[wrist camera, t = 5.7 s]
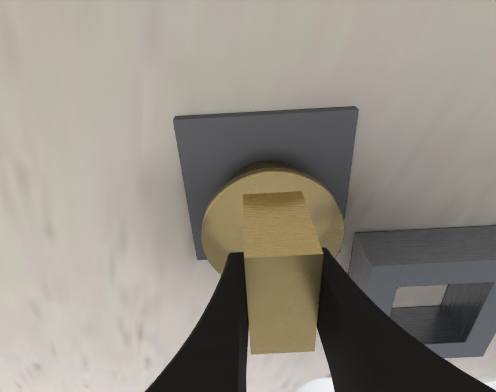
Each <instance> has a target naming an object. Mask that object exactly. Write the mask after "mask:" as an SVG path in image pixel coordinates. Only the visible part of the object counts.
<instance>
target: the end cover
mask: <svg viewBox="0 0 496 392" xmlns="http://www.w3.org/2000/svg"><path fill="white" fill-rule="evenodd" d="M343 238H344V220H343V217H342V214H341V211H340V209H339V207H338V205H337V203H336V201H335V199H334V197H333V196H332V194H331V193H330V191H329V190H328V189H327V188H326V187H325V186H324V185H323V184H322V183H321V182H319V181H318V180H317V179H315V178H313V177H312V176H310V175H308V174H305V173H303V172H300V171H298V170H297V169H296V168H294V167H293V166H291V165H289V164H287V163H284V162H280V161H275V160H263V161H257V162H254V163H251V164H248V165H246V166H244V167H243V168H241V169H240V170H239V171H237V172H236V173H235V174H234V175H233V177H232V178H231V179H230V181H229V182H228V183H226V184H225V185H224V186H223V187H221V188H220V189H219V190H218V191H217V193H216V194H215V195H214V196H213V198H212V199H211V201H210V202H209V204H208V206H207V209H206V211H205V215H204V219H203V225H202V233H201V239H202V246H203V250H204V253H205V255H206V257H207V259H208V261H209V262H210V264H211V265H212V266H213V267H214V269H215V270H216V271H218V272H219V273H220V274H221V275H222V273H223V270H224V267H225V264H226V261H227V257H228V254H229V253H231V252H244V264H245V278H246V291H247V305H248V319H249V332H250V346H251V354H270V353H289V352H308V351H314V350H315V339H316V328H317V318H318V307H319V296H320V286H321V275H322V264H323V251H322V248H323V247H326V248H327V249H328V250H329V252H330V253H331V254H332V256H333V257H334V258H335V257H336V256H337V254H338V252H339V251H340V248H341V245H342V243H343Z"/></svg>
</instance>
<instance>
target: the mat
mask: <svg viewBox="0 0 496 392" xmlns="http://www.w3.org/2000/svg"><path fill="white" fill-rule="evenodd" d="M357 118H358V109H357V108H356V107H355V106H352V107H334V108H316V109H298V110H281V111H263V112H245V113H227V114H209V115H191V116H175V117H174V119H173V123H174V129H175V134H176V140H177V146H178V152H179V157H180V163H181V169H182V175H183V180H184V186H185V192H186V198H187V203H188V209H189V215H190V221H191V226H192V232H193V238H194V244H195V249H196V255H197V260H206V259H207V257H206V255H205V253H204V250H203V246H202V239H201V233H202V225H203V219H204V215H205V211H206V209H207V206H208V204H209V202H210V201H211V199H212V198H213V196H214V195H215V194H216V193H217V191H218V190H219V189H220V188H221V187H223V186H224V185H225V184H226V183H228V182H229V181H230V179H231V178H232V177H233V175H234V174H235V173H236V172H237V171H239V170H240V169H241V168H243V167H244V166H246V165H248V164H251V163H254V162H257V161H263V160H275V161H280V162H284V163H287V164H289V165H291V166H293V167H294V168H296V169H297V170H298V171H300V172H303V173H305V174H308V175H310V176H312V177H313V178H315V179H317V180H318V181H319V182H321V183H322V184H323V185H324V186H325V187H326V188H327V189H328V190H329V191H330V193H331V194H332V196H333V197H334V199H335V201H336V203H337V205H338V207H339V209H340V211H341V214H342V217H343V220H344V218H345V210H346V203H347V195H348V187H349V180H350V172H351V164H352V156H353V149H354V141H355V133H356V126H357ZM340 249H341V248H340ZM339 252H340V251H339Z"/></svg>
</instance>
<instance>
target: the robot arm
mask: <svg viewBox="0 0 496 392" xmlns="http://www.w3.org/2000/svg"><path fill="white" fill-rule="evenodd" d="M322 251H323V264H322V275H321V286H320V296H319V307H318V318H317V329H318V332H319V335H320V338H321V342H322V345H323V348H324V352H325V355H326V358H327V361H328V365H329V368H330V372H331V376H332V381H333V385H334V390H335V392H496V391H495V390H494V389H492V388H490V387H489V386H487V385H485V384H484V383H482V382H480V381H479V380H477V379H475V378H474V377H472V376H470V375H468V374H467V373H465V372H463V371H462V370H460V369H459V368H457V367H456V366H454V365H453V364H451V363H450V362H448V361H447V360H445V359H443V358H442V357H440V356H439V355H438V354H436V353H435V352H433V351H432V350H431V349H429V348H428V347H427V346H425V345H424V344H422V343H421V342H420V341H418V340H417V339H416V338H414V337H413V336H412V335H410V334H409V333H408V332H407V331H405V330H404V329H403V328H402V327H401V326H399V325H398V324H397V323H396V322H395V321H393V320H392V319H391V318H390V317H389V316H388V315H387V314H386V313H384V312H383V311H382V310H381V309H380V308H379V307H378V306H377V305H376V304H375V303H374V302H373V301H372V300H371V299H370V298H369V297H368V296H367V295H366V294H365V293H364V292H363V291H362V290H361V289H360V288H359V286H358V285H357V284H356V283H355V282H354V281H353V280H352V279H351V278H350V276H349V275H348V274H347V273H346V272H345V271H344V269H343V268H342V267H341V266H340V265H339V263H338V262H337V261H336V260H335V258H334V257H333V256H332V254H331V253H330V252H329V250H328V249H327V248H326V247H323V248H322ZM248 330H249V319H248V305H247V291H246V278H245V264H244V252H231V253H229V254H228V257H227V261H226V264H225V267H224V270H223V273H222V275H221V278H220V280H219V283H218V285H217V287H216V289H215V292H214V294H213V296H212V298H211V300H210V302H209V303H208V305H207V307H206V309H205V311H204V313H203V315H202V316H201V318H200V320H199V321H198V323H197V325H196V326H195V328H194V329H193V331H192V333H191V334H190V336H189V337H188V338H187V340H186V341H185V343H184V344H183V346H182V347H181V348H180V350H179V351H178V353H177V354H176V355H175V357H174V358H173V359H172V360H171V362H170V363H169V364H168V365H167V366H166V368H165V369H164V370H163V371H162V372H161V374H160V375H159V376H158V377H157V379H156V380H155V381H154V382H153V383H152V384H151V385H150V387H149V388H148V389H147V390H146V391H145V392H246V364H247V347H248Z"/></svg>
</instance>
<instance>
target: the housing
mask: <svg viewBox="0 0 496 392" xmlns="http://www.w3.org/2000/svg"><path fill="white" fill-rule="evenodd" d="M349 276H350V278H351V279H352V280H353V281H354V282H355V283H356V284H357V285H358V286H359V288H360V289H361V290H362V291H363V292H364V293H365V294H366V295H367V296H368V297H369V298H370V299H371V300H372V301H373V302H374V303H375V304H376V305H377V306H378V307H379V308H380V309H381V310H382V311H383V312H384V313H386V314H387V315H388V316H389V317H390V318H391V319H392V320H393V321H395V322H396V323H397V324H398V325H399V326H401V327H402V328H403V329H404V330H405V331H407V332H408V333H409V334H410V335H412V336H413V337H414V338H416V339H417V340H418V341H420V342H421V343H422V344H424V345H425V346H427V347H428V348H429V349H431V350H432V351H433V352H435V353H436V354H438V355H439V356H440V357H442V358H460V357H479V356H483V355H484V353H485V351H486V349H487V347H488V346H489V344H490V342H491V340H492V338H493V337H494V335H495V333H496V225H494V226H475V227H457V228H438V229H420V230H401V231H382V232H364V233H355V236H354V242H353V249H352V255H351V262H350V268H349ZM443 284H449V286H448V288H447V291H446V293H445V296H444V299H443V301H442V304H441V306H427V307H408V308H392V304H393V301H394V297H395V293H396V290H397V287H405V286H424V285H443Z"/></svg>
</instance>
